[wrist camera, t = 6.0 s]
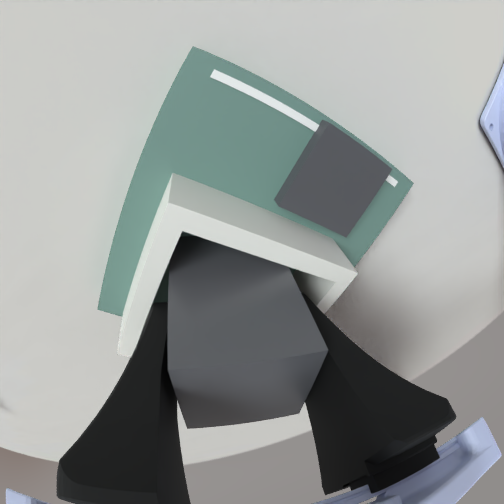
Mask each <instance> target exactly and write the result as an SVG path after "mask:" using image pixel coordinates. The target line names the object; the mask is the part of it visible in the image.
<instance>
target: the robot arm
mask: <svg viewBox="0 0 504 504" xmlns="http://www.w3.org/2000/svg"><path fill="white" fill-rule="evenodd" d="M480 124H481V127H482V128H483V130H484V132H485V134H486V135H487V137H488V139H489V141H490V143H491V144H492V146H493V148H494V150H495V152H496V154H497V156H498V158H499V160H500V162H501V164H502V166H503V168H504V64H503V67H502V69H501V72H500V74H499V77H498V79H497V82H496V84H495V87H494V89H493V91H492V94H491V96H490V98H489V100H488V102H487V105H486V107H485V109H484V111H483V113H482V115H481V118H480ZM301 294H302V296H303V298H304V300H305V302H306V304H307V306H308V308H309V310H310V312H311V314H312V317H313V319H314V321H315V323H316V325H317V327H318V329H319V331H320V333H321V335H322V337H323V340H324V342H325V344H326V346H327V348H328V352H327V354H326V357H325V359H324V361H323V364H322V366H321V368H320V370H319V373H318V375H317V377H316V379H315V381H314V384H313V386H312V388H311V390H310V392H309V394H308V396H307V398H306V400H305V403H306V406H307V410H308V414H309V418H310V422H311V426H312V431H313V435H314V440H315V444H316V449H317V455H318V460H319V465H320V472H321V479H322V487H323V490H324V493H325V495H327V494H330V493H333V492H336V491H339V490H342V489H345V488H348V487H350V488H351V491H349V492H347V493H344V494H341V495H338V496H335V497H332V498H329V499H326V500H323V501H319V502H316V503H313V504H358V503H361V502H363V501H366V500H368V499H370V498H373V497H375V496H377V495H378V496H377V499H376V500H375V501H373V502H370V503H367V504H455V503H456V502H457V501H458V500H459V499H460V498H461V497H462V496H463V495H464V494H465V493H466V492H467V491H468V490H469V489H470V488H471V487H472V486H473V485H474V484H475V483H476V482H477V480H478V479H479V478H480V477H481V476H482V475H483V474H484V473H485V472H486V471H487V470H488V469H489V468H490V467H491V466H492V465H493V464H494V463H495V462H496V461H497V460H498V459H499V458H500V457H501V452H500V450H499V448H498V446H497V444H496V442H495V440H494V438H493V436H492V434H491V432H490V430H489V428H488V426H487V424H486V422H485V420H484V418H483V417H481V418H480V419H478V420H477V421H476V422H474V423H473V424H472V425H470V426H469V427H468V428H466V429H465V430H463V431H462V432H461V433H459V434H458V435H457V436H455V437H454V438H452V439H451V440H449V441H448V442H446V443H445V444H443V445H441V446H440V447H438V448H437V449H436V448H435V446H434V444H435V443H436V442H437V439H436V437H435V435H436V434H437V433H438V432H440V431H441V430H442V429H444V428H445V427H446V426H448V425H449V424H450V423H452V422H453V421H454V420H455V419H456V414H455V413H454V411H453V409H452V407H451V405H450V403H449V401H448V400H447V399H446V398H444V397H441V396H439V395H436V394H434V393H431V392H429V391H426V390H424V389H422V388H420V387H418V386H416V385H414V384H412V383H410V382H409V381H407V380H405V379H403V378H402V377H400V376H398V375H397V374H395V373H393V372H392V371H390V370H389V369H387V368H386V367H384V366H383V365H381V364H380V363H379V362H377V361H376V360H374V359H373V358H372V357H370V356H369V355H368V354H367V353H365V352H364V351H363V350H362V349H360V348H359V347H358V346H357V345H356V344H355V343H353V342H352V341H351V340H350V339H349V338H348V337H347V336H346V335H345V334H344V333H343V332H342V331H341V330H339V329H338V328H337V327H336V326H335V325H334V324H333V323H332V322H331V321H330V320H329V319H328V318H327V317H326V316H325V314H324V313H323V312H322V311H321V310H320V309H319V308H318V307H317V306H316V305H315V304H314V303H313V302H312V301H311V300H310V299H309V298H308V297H307V296H306V295H305V294H304V292H302V293H301ZM57 496H58V498H59V499H62V500H65V501H68V502H71V503H75V504H191V503H190V499H189V494H188V490H187V484H186V479H185V473H184V468H183V461H182V454H181V447H180V439H179V431H178V421H177V397H176V394H175V391H174V388H173V385H172V382H171V378H170V375H169V372H168V302H158V303H154V304H153V305H152V307H151V310H150V313H149V316H148V319H147V322H146V324H145V327H144V329H143V332H142V334H141V336H140V339H139V341H138V343H137V345H136V348H135V350H134V352H133V354H132V356H131V358H130V360H129V362H128V364H127V366H126V368H125V370H124V372H123V374H122V376H121V377H120V379H119V381H118V383H117V385H116V386H115V388H114V390H113V391H112V393H111V395H110V396H109V398H108V399H107V401H106V402H105V404H104V405H103V407H102V408H101V410H100V411H99V413H98V414H97V416H96V417H95V418H94V420H93V421H92V422H91V423H90V425H89V426H88V427H87V429H86V430H85V431H84V433H83V434H82V435H81V436H80V438H79V439H78V440H77V441H76V442H75V443H74V444H73V446H72V447H71V448H70V449H69V450H68V451H67V452H66V453H65V454H64V455H63V457H62V458H61V459H60V460H59V466H58V471H57ZM6 504H50V503H47V502H44V501H41V500H38V499H35V498H32V497H29V496H27V495H24V494H21V493H19V492H16V491H14V490H11V489H9V488H7V489H6Z"/></svg>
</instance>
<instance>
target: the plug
mask: <svg viewBox="0 0 504 504" xmlns="http://www.w3.org/2000/svg"><path fill="white" fill-rule="evenodd" d="M327 352H328V348H327V346H326V344H325V342H324V340H323V337H322V335H321V333H320V331H319V329H318V327H317V325H316V323H315V321H314V319H313V317H312V314H311V312H310V310H309V308H308V306H307V304H306V302H305V300H304V298H303V296H302V294H301V292H300V290H299V288H298V286H297V284H296V282H295V280H294V277H293V275H292V273H291V271H290V269H289V267H288V266H285V265H282V264H279V263H276V262H273V261H270V260H267V259H264V258H261V257H258V256H255V255H252V254H249V253H246V252H243V251H240V250H237V249H234V248H231V247H228V246H225V245H222V244H219V243H216V242H213V241H210V240H207V239H204V238H201V237H199V236H182V237H179V240H178V242H177V244H176V247H175V249H174V251H173V254H172V256H171V258H170V265H169V286H168V372H169V375H170V378H171V382H172V385H173V388H174V391H175V394H176V397H177V400H178V403H179V406H180V409H181V412H182V415H183V418H184V420H185V423H186V426H187V429H190V428H204V427H216V426H225V425H234V424H242V423H249V422H256V421H262V420H268V419H273V418H279V417H284V416H289V415H294V414H298V413H299V412H300V410H301V408H302V406H303V404H304V402H305V400H306V398H307V396H308V394H309V392H310V390H311V388H312V386H313V384H314V381H315V379H316V377H317V375H318V373H319V370H320V368H321V366H322V364H323V361H324V359H325V357H326V354H327Z"/></svg>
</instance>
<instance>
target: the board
mask: <svg viewBox="0 0 504 504" xmlns="http://www.w3.org/2000/svg"><path fill="white" fill-rule="evenodd" d="M413 184H414V183H413V182H412V181H411V180H409V179H408V178H407V177H406V176H405V175H404V174H403V173H401V172H400V171H399V170H398V169H397V168H395V167H394V166H393V165H392V164H391V163H389V162H388V161H387V160H386V159H385V158H383V157H382V156H381V155H380V154H378V153H377V152H376V151H374V150H373V149H372V148H371V147H369V146H368V145H367V144H365V143H364V142H363V141H361V140H360V139H359V138H357V137H356V136H354V135H353V134H352V133H350V132H349V131H348V130H346V129H345V128H343V127H342V126H340V125H339V124H337V123H336V122H335V121H333V120H332V119H330V118H329V117H327V116H326V115H324V114H323V113H321V112H319V111H318V110H316V109H315V108H313V107H312V106H310V105H308V104H307V103H305V102H304V101H302V100H300V99H299V98H297V97H295V96H294V95H292V94H290V93H288V92H287V91H285V90H283V89H281V88H280V87H278V86H276V85H274V84H272V83H271V82H269V81H267V80H265V79H263V78H261V77H259V76H257V75H255V74H253V73H251V72H249V71H247V70H245V69H243V68H241V67H239V66H237V65H235V64H233V63H231V62H229V61H226V60H224V59H222V58H220V57H217V56H215V55H213V54H211V53H208V52H206V51H203V50H201V49H198V48H196V47H192V49H191V50H190V52H189V54H188V56H187V58H186V59H185V61H184V63H183V65H182V67H181V69H180V71H179V72H178V74H177V76H176V78H175V80H174V82H173V84H172V86H171V88H170V90H169V92H168V94H167V96H166V98H165V100H164V103H163V105H162V107H161V109H160V111H159V113H158V116H157V118H156V120H155V122H154V125H153V127H152V129H151V132H150V134H149V136H148V139H147V141H146V144H145V146H144V149H143V151H142V154H141V156H140V159H139V162H138V164H137V167H136V170H135V172H134V175H133V178H132V181H131V184H130V187H129V190H128V193H127V196H126V199H125V202H124V205H123V208H122V211H121V214H120V218H119V221H118V225H117V228H116V232H115V235H114V239H113V242H112V246H111V250H110V254H109V258H108V262H107V266H106V271H105V275H104V280H103V284H102V289H101V294H100V299H99V304H98V310H101V311H104V312H108V313H111V314H115V315H118V316H122V322H121V329H120V336H119V343H118V351H117V354H118V355H122V356H126V357H130V358H131V356H132V354H133V352H134V350H135V348H136V345H137V343H138V341H139V339H140V336H141V334H142V332H143V329H144V327H145V324H146V322H147V319H148V316H149V313H150V310H151V307H152V305H153V304H154V303H158V302H168V286H169V265H170V258H171V256H172V254H173V251H174V249H175V247H176V244H177V242H178V240H179V237H182V236H199V237H201V238H204V239H207V240H210V241H213V242H216V243H219V244H222V245H225V246H228V247H231V248H234V249H237V250H240V251H243V252H246V253H249V254H252V255H255V256H258V257H261V258H264V259H267V260H270V261H273V262H276V263H279V264H282V265H285V266H288V267H289V269H290V271H291V273H292V275H293V277H294V280H295V282H296V284H297V286H298V288H299V290H300V292H301V293H302V292H304V294H305V295H306V296H307V297H308V298H309V299H310V300H311V301H312V302H313V303H314V304H315V305H316V306H317V307H318V308H319V309H320V310H321V311H322V312H323V313H324V314H325V313H326V312H327V311H328V309H329V308H330V307H331V306H332V305H333V304H334V302H335V301H336V300H337V299H338V298H339V296H340V295H341V294H342V293H343V292H344V290H345V289H346V288H347V287H348V285H349V284H350V283H351V282H352V281H353V279H354V278H355V277H356V275H357V274H358V272H357V271H356V269H355V268H354V267H355V266H356V264H357V263H358V262H359V260H360V259H361V258H362V257H363V255H364V254H365V253H366V251H367V250H368V249H369V247H370V246H371V244H372V243H373V242H374V240H375V239H376V238H377V236H378V235H379V234H380V232H381V231H382V229H383V228H384V227H385V225H386V224H387V222H388V221H389V219H390V218H391V217H392V215H393V214H394V212H395V211H396V209H397V208H398V206H399V205H400V203H401V202H402V200H403V199H404V197H405V196H406V194H407V193H408V191H409V190H410V188H411V187H412V185H413Z"/></svg>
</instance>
